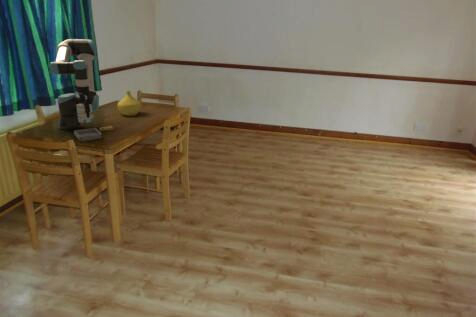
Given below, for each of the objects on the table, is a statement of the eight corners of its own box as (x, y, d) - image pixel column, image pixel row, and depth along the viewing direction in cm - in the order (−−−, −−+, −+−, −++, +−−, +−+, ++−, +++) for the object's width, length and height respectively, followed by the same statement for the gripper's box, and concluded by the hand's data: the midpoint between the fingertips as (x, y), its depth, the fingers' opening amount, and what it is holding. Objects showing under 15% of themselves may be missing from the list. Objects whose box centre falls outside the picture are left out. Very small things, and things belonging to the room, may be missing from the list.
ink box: (94, 122, 241) (92, 104, 237) (88, 124, 236) (86, 105, 232) (83, 120, 244) (81, 103, 239) (77, 122, 239) (75, 104, 235)
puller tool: (101, 131, 257) (100, 128, 256) (99, 129, 259) (99, 127, 259) (112, 129, 261) (112, 127, 261) (111, 128, 264) (111, 126, 263)
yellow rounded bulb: (140, 111, 313) (139, 88, 306) (142, 116, 297) (141, 93, 290) (118, 112, 307) (116, 89, 300) (118, 117, 291) (116, 93, 284)
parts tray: (74, 134, 246) (73, 130, 245) (95, 132, 254) (95, 127, 253) (80, 141, 234) (79, 137, 233) (102, 138, 242) (102, 133, 240)
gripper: (72, 83, 238) (76, 117, 246) (80, 89, 221) (84, 125, 229) (84, 82, 242) (88, 116, 250) (93, 88, 225) (97, 123, 233)
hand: (86, 120), depth 240 cm, fingers closed on ink box, 9 cm apart
